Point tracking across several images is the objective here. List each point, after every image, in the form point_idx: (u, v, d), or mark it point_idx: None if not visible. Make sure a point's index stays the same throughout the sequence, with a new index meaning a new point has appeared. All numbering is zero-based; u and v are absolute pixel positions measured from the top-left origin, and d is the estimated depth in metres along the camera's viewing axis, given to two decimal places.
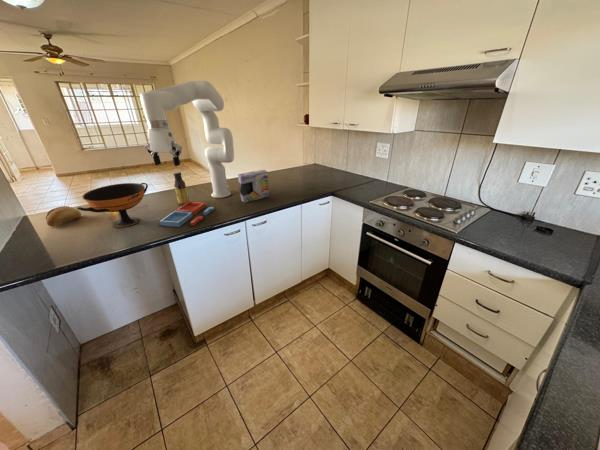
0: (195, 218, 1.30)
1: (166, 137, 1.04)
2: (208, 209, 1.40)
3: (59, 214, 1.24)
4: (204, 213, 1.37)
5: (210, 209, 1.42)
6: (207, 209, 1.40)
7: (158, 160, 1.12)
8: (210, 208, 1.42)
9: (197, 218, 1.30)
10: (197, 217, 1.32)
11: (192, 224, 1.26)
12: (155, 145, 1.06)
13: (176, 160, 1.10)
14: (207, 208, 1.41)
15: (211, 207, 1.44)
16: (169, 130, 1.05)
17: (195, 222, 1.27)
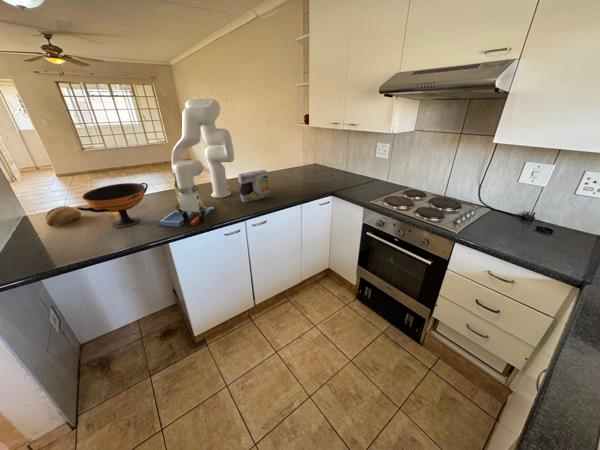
0: (195, 218, 1.30)
1: (194, 200, 1.20)
2: (208, 209, 1.40)
3: (59, 214, 1.24)
4: (204, 213, 1.37)
5: (210, 209, 1.42)
6: (207, 209, 1.40)
7: (186, 217, 1.28)
8: (210, 208, 1.42)
9: (197, 218, 1.30)
10: (197, 217, 1.32)
11: (192, 224, 1.26)
12: (184, 206, 1.22)
13: (201, 218, 1.25)
14: (207, 208, 1.41)
15: (211, 207, 1.44)
16: (197, 194, 1.21)
17: (195, 222, 1.27)
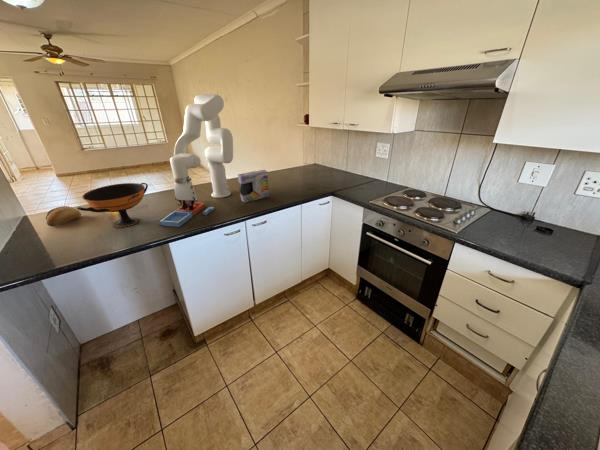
0: None
1: (188, 189, 1.33)
2: (208, 209, 1.40)
3: (59, 214, 1.24)
4: (204, 213, 1.37)
5: (210, 209, 1.42)
6: (207, 209, 1.40)
7: (186, 207, 1.41)
8: (210, 208, 1.42)
9: None
10: None
11: None
12: (179, 195, 1.35)
13: (191, 207, 1.39)
14: (207, 208, 1.41)
15: (211, 207, 1.44)
16: (191, 184, 1.34)
17: None
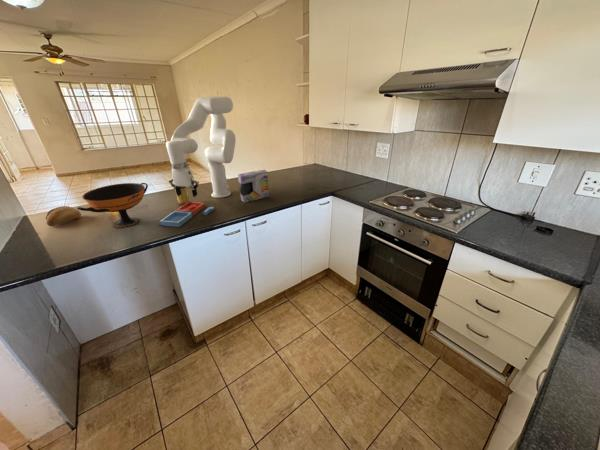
0: (189, 206, 1.43)
1: (186, 175, 1.30)
2: (208, 209, 1.40)
3: (59, 214, 1.24)
4: (204, 213, 1.37)
5: (210, 209, 1.42)
6: (207, 209, 1.40)
7: (179, 191, 1.38)
8: (210, 208, 1.42)
9: (191, 206, 1.43)
10: (191, 205, 1.45)
11: None
12: (177, 181, 1.32)
13: (194, 192, 1.36)
14: (207, 208, 1.41)
15: (211, 207, 1.44)
16: (188, 169, 1.31)
17: (189, 209, 1.40)
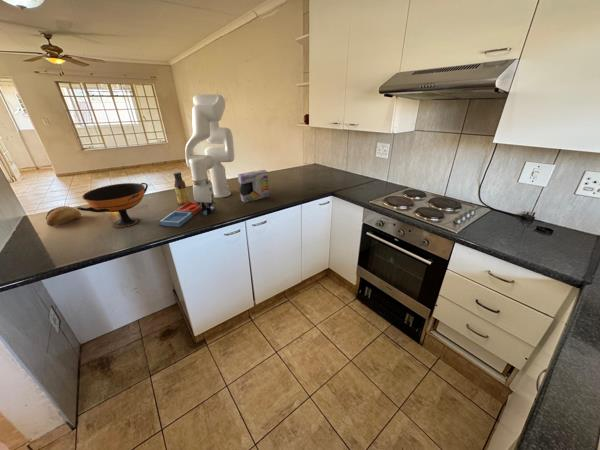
0: (189, 206, 1.43)
1: (208, 192, 1.31)
2: None
3: (59, 214, 1.24)
4: (204, 213, 1.37)
5: None
6: None
7: (205, 209, 1.40)
8: None
9: (191, 206, 1.43)
10: (191, 205, 1.45)
11: None
12: (198, 197, 1.33)
13: (208, 210, 1.38)
14: None
15: (211, 207, 1.44)
16: (210, 186, 1.32)
17: (189, 209, 1.40)
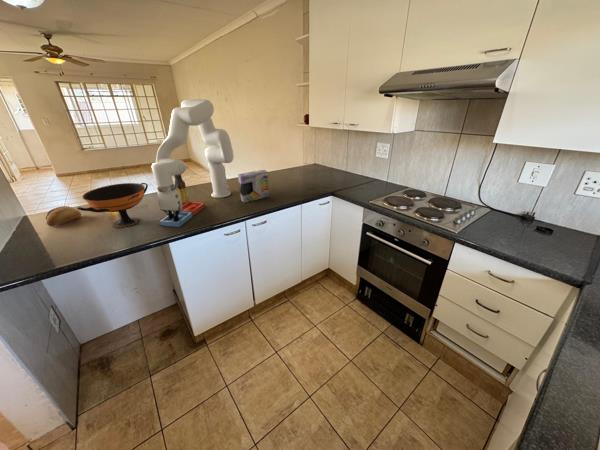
0: (189, 206, 1.43)
1: (173, 199, 1.21)
2: None
3: (59, 214, 1.24)
4: None
5: None
6: None
7: None
8: (178, 216, 1.31)
9: (191, 206, 1.43)
10: (191, 205, 1.45)
11: None
12: (163, 205, 1.23)
13: (176, 218, 1.27)
14: None
15: (180, 215, 1.33)
16: (176, 192, 1.22)
17: (189, 209, 1.40)
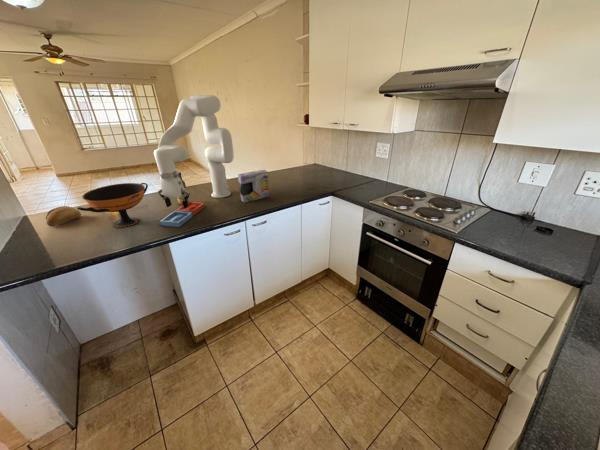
0: (189, 206, 1.43)
1: (176, 186, 1.21)
2: (176, 217, 1.29)
3: (59, 214, 1.24)
4: None
5: (178, 217, 1.31)
6: (175, 217, 1.29)
7: (169, 202, 1.29)
8: (178, 216, 1.31)
9: (191, 206, 1.43)
10: (191, 205, 1.45)
11: None
12: (167, 192, 1.23)
13: (185, 203, 1.26)
14: (175, 216, 1.31)
15: (180, 215, 1.33)
16: (179, 179, 1.21)
17: (189, 209, 1.40)
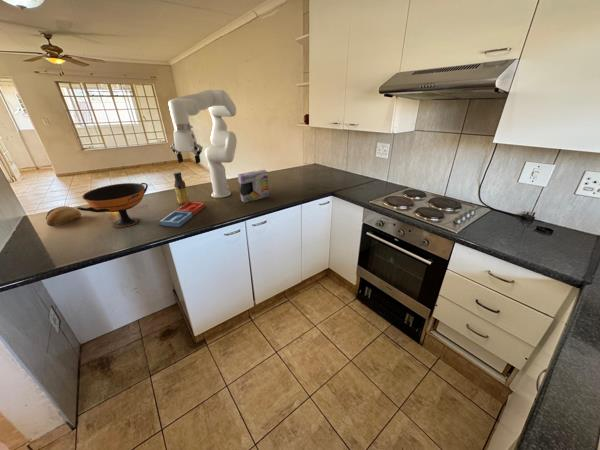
0: (189, 206, 1.43)
1: (189, 138, 1.20)
2: (176, 217, 1.29)
3: (59, 214, 1.24)
4: None
5: (178, 217, 1.31)
6: (175, 217, 1.29)
7: (181, 158, 1.29)
8: (178, 216, 1.31)
9: (191, 206, 1.43)
10: (191, 205, 1.45)
11: None
12: (180, 145, 1.23)
13: (197, 158, 1.26)
14: (175, 216, 1.31)
15: (180, 215, 1.33)
16: (192, 132, 1.21)
17: (189, 209, 1.40)
